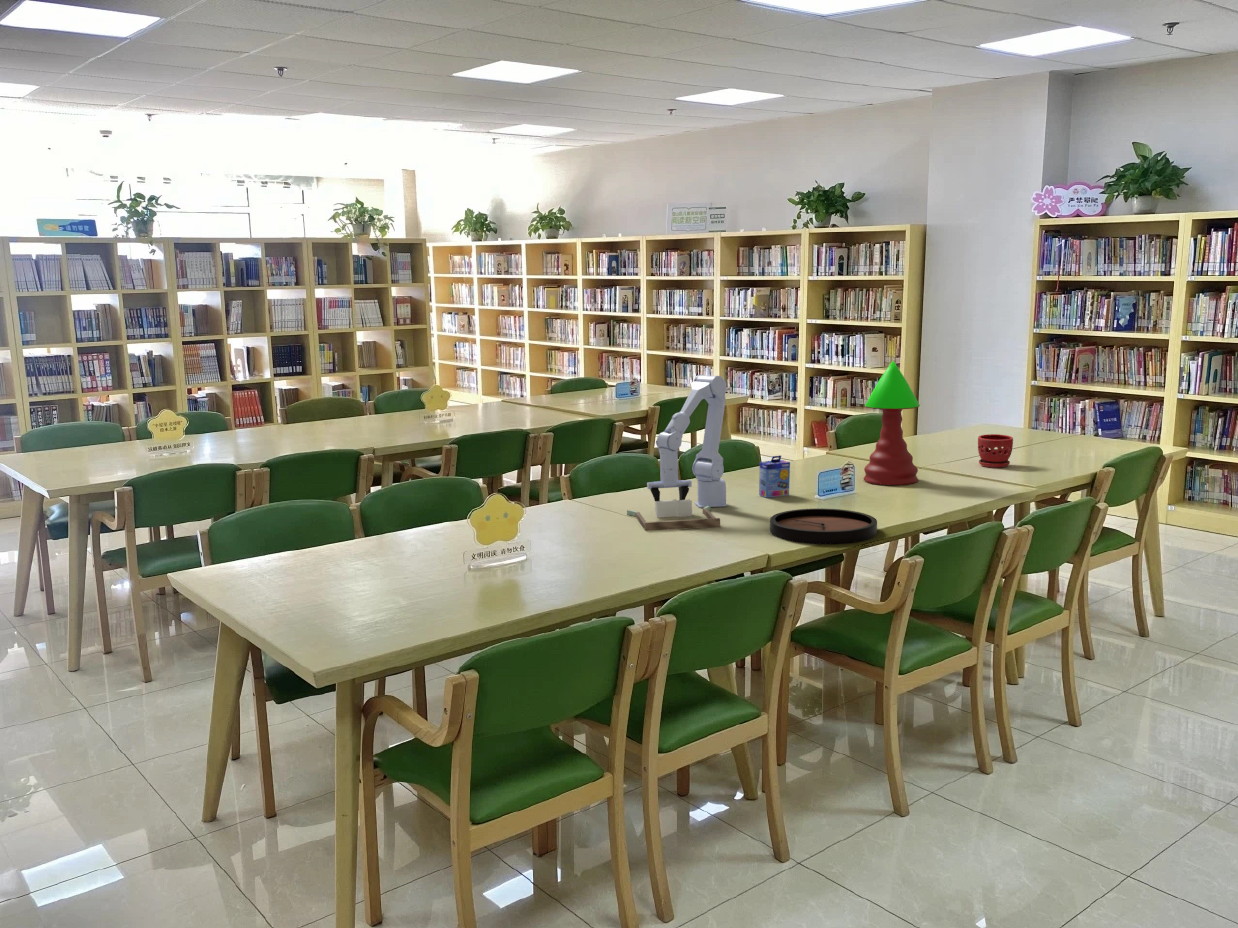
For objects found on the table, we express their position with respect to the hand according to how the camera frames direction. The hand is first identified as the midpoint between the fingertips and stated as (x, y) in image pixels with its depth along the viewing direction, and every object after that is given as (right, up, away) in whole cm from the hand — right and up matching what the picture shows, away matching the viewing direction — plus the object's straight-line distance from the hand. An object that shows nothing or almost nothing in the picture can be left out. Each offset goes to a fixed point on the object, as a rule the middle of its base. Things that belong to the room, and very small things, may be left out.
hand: (669, 509), depth 331 cm
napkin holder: (+2, -3, -3) cm, 5 cm away
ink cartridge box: (+38, +3, +24) cm, 45 cm away
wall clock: (+44, -6, -29) cm, 54 cm away
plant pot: (+133, +14, +70) cm, 151 cm away
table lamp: (+85, +8, +45) cm, 96 cm away
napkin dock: (+1, -3, -9) cm, 10 cm away
